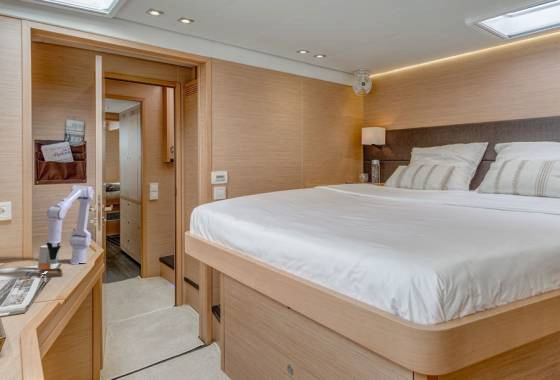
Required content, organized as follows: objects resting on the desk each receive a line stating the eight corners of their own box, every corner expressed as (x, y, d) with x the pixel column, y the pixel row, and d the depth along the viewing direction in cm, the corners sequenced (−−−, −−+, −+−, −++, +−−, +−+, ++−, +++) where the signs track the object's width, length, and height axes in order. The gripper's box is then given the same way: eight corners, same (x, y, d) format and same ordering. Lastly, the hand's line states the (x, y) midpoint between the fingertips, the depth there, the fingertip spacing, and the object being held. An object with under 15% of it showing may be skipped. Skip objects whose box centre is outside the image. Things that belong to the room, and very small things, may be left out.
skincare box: (37, 270, 183) (39, 246, 183) (40, 267, 187) (42, 245, 187) (50, 270, 185) (52, 247, 184) (53, 268, 189) (55, 245, 188)
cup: (46, 261, 178) (47, 249, 178) (57, 261, 181) (58, 249, 181) (46, 263, 174) (47, 251, 174) (58, 263, 177) (59, 251, 177)
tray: (39, 272, 179) (39, 269, 179) (60, 271, 184) (60, 268, 184) (40, 277, 172) (40, 274, 172) (62, 276, 177) (62, 272, 177)
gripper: (44, 228, 181) (41, 255, 181) (45, 233, 169) (43, 262, 170) (60, 228, 185) (58, 254, 185) (63, 233, 173) (60, 261, 174)
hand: (52, 258), depth 178 cm, fingers closed on cup, 5 cm apart
